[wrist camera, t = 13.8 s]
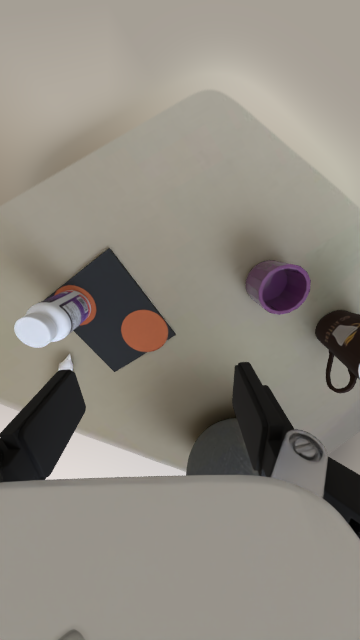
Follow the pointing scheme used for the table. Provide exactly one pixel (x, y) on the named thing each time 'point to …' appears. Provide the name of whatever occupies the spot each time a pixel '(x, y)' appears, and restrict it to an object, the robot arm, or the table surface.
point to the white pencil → (66, 364)
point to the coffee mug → (341, 343)
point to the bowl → (220, 452)
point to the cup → (278, 286)
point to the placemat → (116, 313)
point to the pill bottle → (52, 318)
